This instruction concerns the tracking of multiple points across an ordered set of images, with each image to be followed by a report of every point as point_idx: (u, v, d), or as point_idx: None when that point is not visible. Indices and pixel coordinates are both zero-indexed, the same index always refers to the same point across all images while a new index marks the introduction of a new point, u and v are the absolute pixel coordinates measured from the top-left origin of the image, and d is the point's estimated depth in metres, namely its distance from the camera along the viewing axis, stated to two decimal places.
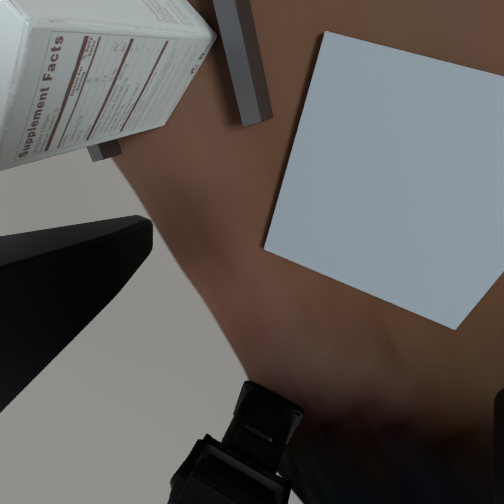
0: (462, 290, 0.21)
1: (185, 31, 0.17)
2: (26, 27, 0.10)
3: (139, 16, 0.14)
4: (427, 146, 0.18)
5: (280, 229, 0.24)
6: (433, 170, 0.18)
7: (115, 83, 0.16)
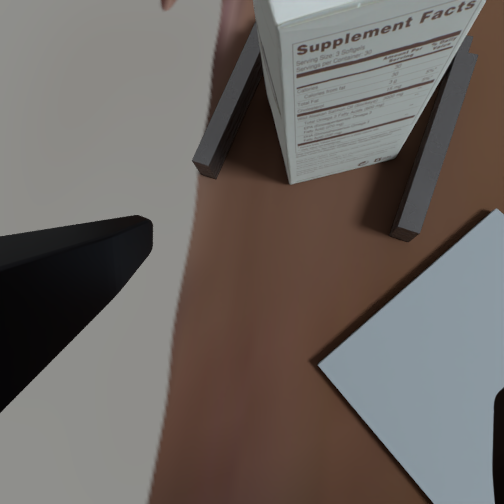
0: None
1: (412, 127, 0.18)
2: None
3: None
4: None
5: (355, 351, 0.19)
6: None
7: (380, 97, 0.15)
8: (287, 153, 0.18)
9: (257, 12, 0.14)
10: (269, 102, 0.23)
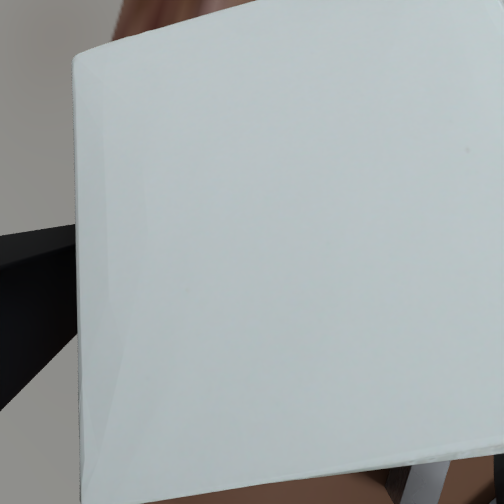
0: None
1: None
2: None
3: None
4: None
5: None
6: None
7: None
8: None
9: None
10: None
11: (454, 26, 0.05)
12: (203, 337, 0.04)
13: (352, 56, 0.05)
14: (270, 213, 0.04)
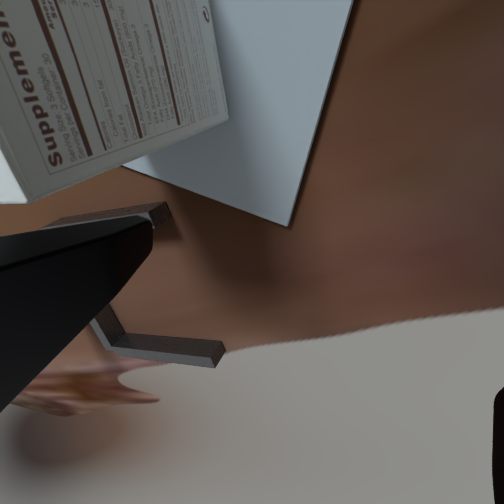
0: None
1: None
2: None
3: None
4: None
5: (257, 204, 0.21)
6: None
7: (110, 15, 0.11)
8: (189, 135, 0.15)
9: None
10: None
11: None
12: None
13: None
14: None
